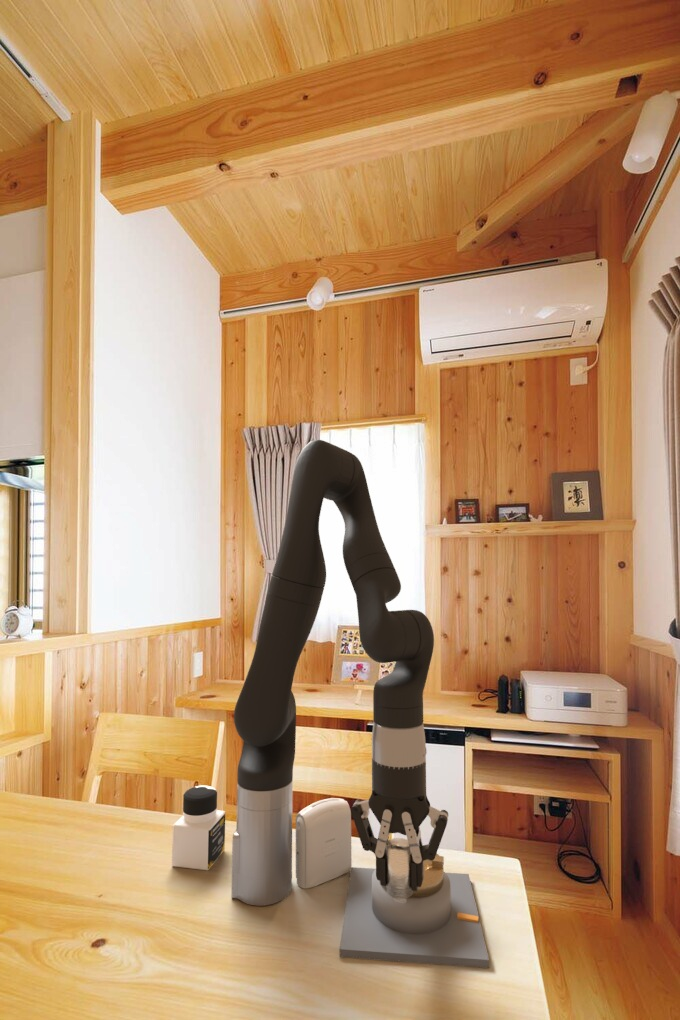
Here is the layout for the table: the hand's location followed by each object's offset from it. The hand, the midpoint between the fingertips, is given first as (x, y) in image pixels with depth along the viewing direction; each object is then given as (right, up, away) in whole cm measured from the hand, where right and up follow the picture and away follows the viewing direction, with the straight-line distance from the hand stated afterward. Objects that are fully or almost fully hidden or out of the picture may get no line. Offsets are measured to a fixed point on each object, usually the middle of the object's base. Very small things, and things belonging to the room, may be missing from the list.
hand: (399, 884), depth 74 cm
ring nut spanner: (+2, -5, +6) cm, 8 cm away
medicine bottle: (-34, -12, +24) cm, 44 cm away
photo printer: (-11, -12, +19) cm, 25 cm away
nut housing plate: (+3, -11, +9) cm, 14 cm away
